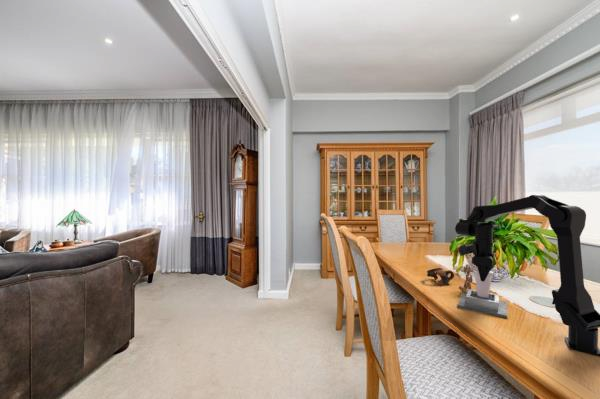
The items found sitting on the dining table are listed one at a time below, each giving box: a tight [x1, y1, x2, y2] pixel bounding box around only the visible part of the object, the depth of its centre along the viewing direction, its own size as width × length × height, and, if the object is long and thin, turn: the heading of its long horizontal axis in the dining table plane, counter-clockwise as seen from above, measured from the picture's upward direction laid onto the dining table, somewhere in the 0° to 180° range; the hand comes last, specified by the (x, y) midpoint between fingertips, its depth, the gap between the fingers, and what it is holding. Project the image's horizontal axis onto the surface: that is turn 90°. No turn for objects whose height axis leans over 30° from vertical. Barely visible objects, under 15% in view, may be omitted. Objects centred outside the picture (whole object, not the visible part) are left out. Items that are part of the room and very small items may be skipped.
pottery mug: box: [426, 267, 455, 286], centre depth 131 cm, size 12×10×8 cm
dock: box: [457, 288, 508, 319], centre depth 103 cm, size 15×15×4 cm
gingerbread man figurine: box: [458, 263, 473, 294], centre depth 118 cm, size 9×4×12 cm, turn 168°
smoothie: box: [472, 268, 494, 298], centre depth 103 cm, size 6×6×14 cm
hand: (483, 279), depth 103 cm, fingers closed on smoothie, 6 cm apart
